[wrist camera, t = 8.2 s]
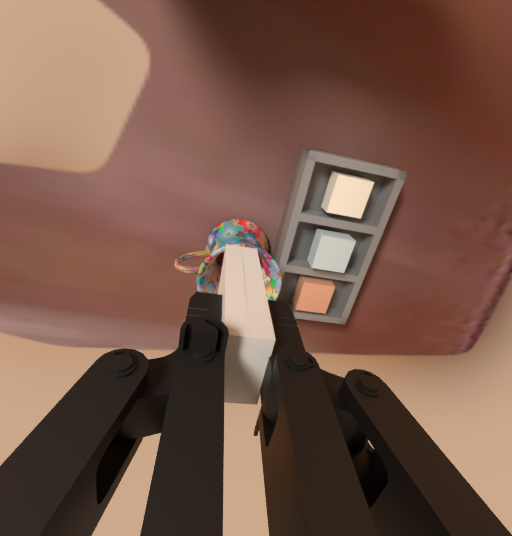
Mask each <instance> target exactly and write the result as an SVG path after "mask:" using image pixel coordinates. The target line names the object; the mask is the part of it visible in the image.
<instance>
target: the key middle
mask: <svg viewBox="0 0 512 536" xmlns="http://www.w3.org/2000/svg"><path fill="white" fill-rule="evenodd" d="M355 243H356V241H355V240H354V239H353V238H352V237H351V236H350V235H349V234H344V233H339V232H333V231H328V230H322V229H317V230H316V233H315V236H314V239H313V242H312V246H311V249H310V252H309V255H308V258H307V260H308V262H309V264H310V266H311V268H315V269H321V270H328V271H334V272H340V273H344V272H345V269H346V267H347V264H348V262H349V259H350V256H351V254H352V251H353V248H354V246H355Z"/></svg>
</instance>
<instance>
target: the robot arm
mask: <svg viewBox="0 0 512 536" xmlns="http://www.w3.org/2000/svg"><path fill="white" fill-rule="evenodd" d="M260 395H261V404H262V406H261V410H260V413H259V416H258V419H257V423H256V426H255V430H254V436H257V435H258V431H260V441H261V452H262V463H263V473H264V484H265V495H266V505H267V516H268V527H269V536H512V535H511V534H510V532H509V531H508V530H507V529H506V528H505V527H504V525H503V524H502V523H501V522H500V520H499V519H498V518H497V517H496V516H495V514H494V513H493V512H492V511H491V510H490V508H489V507H488V506H487V505H486V504H485V502H484V501H483V500H482V499H481V498H480V496H479V495H478V494H477V493H476V492H475V490H474V489H473V488H472V487H471V486H470V484H469V483H468V482H467V481H466V480H465V478H464V477H463V476H462V475H461V474H460V473H459V471H458V470H457V469H456V468H455V466H454V465H453V464H452V463H451V462H450V461H449V459H448V458H447V457H446V456H445V454H444V453H443V452H442V451H441V450H440V448H439V447H438V446H437V445H436V444H435V443H434V441H433V440H432V439H431V438H430V436H429V435H428V434H427V433H426V432H425V431H424V429H423V428H422V427H421V425H420V424H419V423H418V422H417V421H416V419H415V418H414V417H413V416H412V415H411V413H410V412H409V411H408V410H407V409H406V407H405V406H404V405H403V404H402V403H401V402H400V400H399V399H398V398H397V397H396V396H395V394H394V393H393V392H392V391H391V389H390V388H389V387H388V386H387V385H386V384H385V383H384V382H383V381H382V380H381V379H380V378H379V377H377V376H376V375H374V374H372V373H371V372H368V371H365V370H358V369H354V370H351V371H349V372H348V373H347V375H346V376H345V378H343V377H340V376H337V375H334V374H331V373H328V372H326V371H324V370H322V369H320V367H319V364H318V363H317V361H316V359H315V358H314V357H312V355H311V354H309V353H308V352H306V351H305V349H304V345H303V342H302V339H301V336H300V333H299V330H298V327H297V323H296V320H295V317H294V314H293V311H292V309H291V308H290V307H289V306H288V305H287V304H286V302H282V301H274V300H267V295H266V290H265V285H264V280H263V276H262V271H261V266H260V261H259V256H258V251H257V249H255V248H248V247H241V246H235V245H228V244H226V247H225V253H224V258H223V264H222V270H221V276H220V282H219V288H218V294H212V293H204V292H196V293H195V294H194V295H193V296H192V297H191V298H190V301H189V306H188V311H187V316H186V321H185V322H184V323H183V325H182V327H181V329H180V338H179V347H178V348H177V350H176V351H174V352H173V353H171V354H169V355H167V356H165V357H161V358H156V359H150V360H148V359H147V358H146V357H145V356H144V354H143V353H141V352H139V351H136V350H133V349H117V350H113V351H111V352H108V353H106V354H104V355H103V356H101V357H100V358H99V359H97V360H96V361H95V363H94V364H93V365H92V366H91V367H90V368H89V369H88V370H87V372H85V374H84V375H83V376H82V377H81V378H80V379H79V380H78V381H77V382H76V383H75V384H74V386H73V387H72V388H71V389H70V390H69V391H68V392H67V393H66V394H65V395H64V397H63V398H62V399H61V400H60V401H59V402H58V403H57V404H56V406H54V408H53V409H52V410H51V411H50V412H49V413H48V414H47V415H46V416H45V418H44V419H43V420H42V421H41V422H40V423H39V424H38V425H37V426H36V427H35V429H34V430H33V431H32V432H31V433H30V434H29V435H28V436H27V437H26V438H25V439H24V441H23V442H22V443H21V444H20V445H19V446H18V447H17V448H16V449H15V451H14V452H13V453H12V454H11V455H10V456H9V457H8V458H7V459H6V460H5V461H4V463H3V464H2V465H1V466H0V536H91V535H92V534H93V531H94V530H95V528H96V526H97V524H98V522H99V520H100V518H101V517H102V515H103V513H104V511H105V509H106V507H107V505H108V503H109V502H110V500H111V498H112V496H113V494H114V492H115V490H116V488H117V487H118V485H119V483H120V481H121V479H122V477H123V475H124V473H125V471H126V470H127V467H128V466H129V464H130V462H131V460H132V458H133V456H134V455H135V453H136V451H137V449H138V447H139V445H140V443H141V441H142V439H143V437H145V436H150V435H153V434H157V433H161V437H160V442H159V447H158V452H157V456H156V461H155V466H154V471H153V476H152V481H151V486H150V491H149V496H148V501H147V505H146V511H145V515H144V520H143V525H142V530H141V535H140V536H223V453H224V402H228V403H243V404H256V405H257V403H258V399H259V396H260ZM368 440H369V441H370V443H371V444H372V446H373V447H374V449H373V448H372V447H371V446H370V444H369V443H368Z"/></svg>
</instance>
